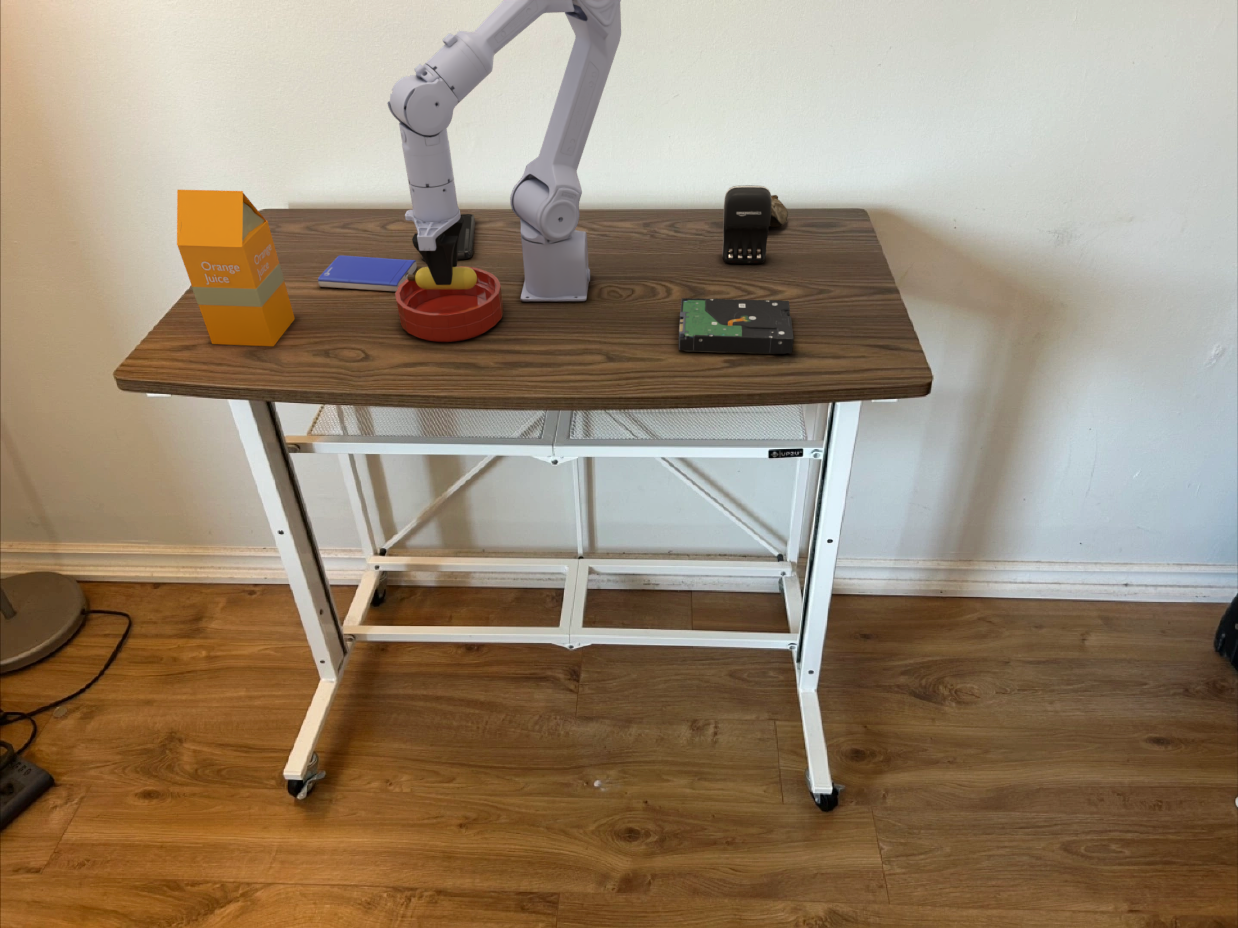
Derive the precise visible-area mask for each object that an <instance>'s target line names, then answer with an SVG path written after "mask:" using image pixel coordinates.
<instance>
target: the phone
mask: <svg viewBox="0 0 1238 928" xmlns="http://www.w3.org/2000/svg"><path fill="white" fill-rule="evenodd" d="M460 214H461V213H460ZM461 216H463V217H464V223H463V226H462V229H461V232H460V237H459V244H458V259H457V261H458V260H468V259H471V258H472V257H473V253H474V252H473V250H474V240H475V239H474V238H475V230H476V229H475V228H476V218H475V215H474V214H472V213H462V214H461ZM421 258H422V259H421V260H423V261H424V262H425V260H424V258H423V257H422V256H421Z"/></svg>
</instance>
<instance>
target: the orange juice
mask: <svg viewBox="0 0 1238 928" xmlns="http://www.w3.org/2000/svg"><path fill="white" fill-rule="evenodd" d="M176 195H177V196H176V205H177V206H176V246H177V248H178V251H179V254H180V257H181V259H182V262H183V266H184V269H185V271H186V273H187V277H188V279H189V283H190V285H191V289H192V292H193V295H194V298H195V301H196V303H197V305H198V308H199V310H200V313H201V316H202V319H203V322H204V324H205V328H206V331H207V333H208V337H209V339H210V342H211V345H229V346H251V347H252V346H256V347H258V346H259V347H274V346H276V344H277V343H278V341H279V340H280V339H281V338H282V336H283V335H284V334H285V333H286V331H287V330H288V328H289V327H290V326H291V324H292V323H293V322H294V321H295V319H296V318H295V314H294V311H293V307H292V303H291V300H290V296H289V293H288V289H287V285H286V282H285V277H284V272H283V270H282V266H281V262H280V261H279V257H278V253H277V249H276V246H275V243H274V239H273V236H272V231H271V227H270V224H269V221H268V220H267V219H266V218H265V217H264V216H263V215H262V213H260V211H259V210H258V209H257V207H256V206H255V205H254V204H253V202H252V201H251V200H250V199H249V198H248V197H247V195H246V194H245V193H244V190H218V189H217V190H216V189H215V190H214V189H213V190H212V189H177V191H176Z"/></svg>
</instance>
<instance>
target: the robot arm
mask: <svg viewBox="0 0 1238 928" xmlns="http://www.w3.org/2000/svg"><path fill="white" fill-rule="evenodd" d="M621 1H622V0H502V1H501V2H500V3H499V4H498V6H496V7H495V8H494V10H493V11H492V12H491V13H490V14H489V15H488V16H487V17H486V18H485V19H484V20H483V21H482V22H481V24H480V25H479V26H478V27H477V28H476V29H475V30H474V31H467V30H459V31H457V32H456V33H455V34H453V33H448V34H447V35H445V36H444V37H443V38H442V42H443V44H444V45H442V47H440V48H439V50H437V51H436V52H435V53H434V54H433V55H432V56H431V57H430V58H429V59H428V60H427V61H426V62H425V63H424V64H421V63H419V64H417V65H416V67H415V68H413V71H414V72H415V74H410V75H405V76H402V77H401V78H400V79H398V80H397V81H396V82H395V83H394V85H393V86H392V88H391V91H392V92H391V93H390V94H389V101H387V103H386V104H387V107H388V110H389V112H390V113H391V115H392V116H393V118H395V119H396V120H397V121H398V127H399V132H400V138H401V147H402V153H403V159H404V165H405V171H406V177H407V183H408V188H409V194H410V199H411V206H412V209H408V210H406V212H405V214H404V218H405V221H408V222H412V223H413V224H414V226H415V229H416V232H415V233H414V234H413V237H412V238H411V240H412V241H411V242H412V245H413V248H415V249H416V251H417V252H418V253H419V254H420V255H421V258H422V257H423V258H424V260H425V261H424V260H423V261H424V262H425V264H426V267H428V268H429V270H430V273H431V275H432V278H433V280H434V282H435V284H436V285H451V283H452V276H453V267H457V266H458V260H459V259H458V244H459V237H460V232H461V229H462V226H463V223H464V217H463V216H461V210H460V207H459V204H458V198H457V190H456V183H455V177H454V175H455V174H454V170H453V162H452V154H451V146H450V140H449V136H448V135H449V134H448V128H449V126H450V124H451V122H452V119H453V115H454V110H455V108H456V106H457V105H458V104H460V103H461V102H462V101H463V100H464V99H465V98H466V97H467V96H468V95H469V94H470V93H471V92H473V90H475V88H476V87H477V86H478V85H480V83H482V82H483V81H484V80H485V79H486V78H487V76H489V75H490V74H491V73H492V72H493V69H494V58H495V56H496V54H497V53H498V52H500V51H501V50H502V49H503V48H505V46H507V45H508V44H509V43H510V42H511V41H512V40H514V39H515V38H516V37H517V36H518V35H520V34H521V33H522V32H523V31H524V30H525V29H527V28H528V27H529V26H530V25H532V24H533V23H534V22H535V21H536V20H537V19H539V18H540V17H541V16H542V15H544V14H553V13H554V14H555V13H556V14H557V13H564V14H565V16H566V18H567V20H568V23H569V24H570V27H571V29H572V31H573V33H574V36H575V38H574V42H573V45H572V47H571V51H570V55H569V57H568V61H567V64H566V67H565V69H564V73H563V77H562V80H561V83H560V86H559V89H558V92H557V96H556V99H555V102H554V106H553V108H552V112H551V114H550V118H549V122H548V125H547V128H546V131H545V135H544V137H543V141H542V144H541V147H540V150H539V154H538V156H537V157H536V158H534V159H533V160H532V161H530V162H529V163H527V164H526V165H525V168H524V171H523V174H522V175H521V177H520V179H519V180H518V181H517V182H516V183H515V185H514V186H513V188H512V190H511V193H510V197H509V203H510V207H511V210H512V211H513V213H514V214H515V216H516V217H518V218H519V220H520V221H519V222H520V241H521V251H522V261H523V272H524V273H523V274H524V282H523V285H522V289H521V294H520V301H521V302H585V301H587V298H588V292H589V291H588V290H589V282H590V281H591V269H590V268H589V246H588V245H589V244H588V233H587V232H586V231H585V230H577V227H578V224H579V222H580V216H581V215H580V201H581V198H582V194H583V189H582V186H581V182H580V179H579V176H578V168H579V165H580V162H581V159H582V156H583V153H584V150H585V147H586V144H587V141H588V138H589V136H590V132H591V130H592V126H593V124H594V120H595V116H596V114H597V111H598V108H599V105H600V102H601V99H602V95H603V92H604V90H605V87H606V84H607V80H608V78H609V75H610V72H611V69H612V65H613V63H614V60H615V56H616V54H617V50H618V47H619V44H620V42H621V37H622V13H621V9H622V8H621ZM457 259H458V260H457Z"/></svg>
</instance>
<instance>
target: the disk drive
mask: <svg viewBox="0 0 1238 928" xmlns="http://www.w3.org/2000/svg"><path fill="white" fill-rule="evenodd" d="M790 305H791V304H790V301H789V300H780V299H768V300H767V299H738V298H737V299H735V298H734V299H733V298H703V297H701V298H700V297H699V298H698V297H697V298H692V297H691V298H690V297H686V298H685V297H681V300H680V312H679V327H678V350H679V351H684V352H701V353H702V352H704V353H733V354H735V353H737V354H761V355H762V354H764V355H766V354H767V355H772V354H773V355H777V354H779V355H785V354H792V353H793V346H794V339H795V337H794V331H793V323H792V316H791V307H790Z"/></svg>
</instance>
